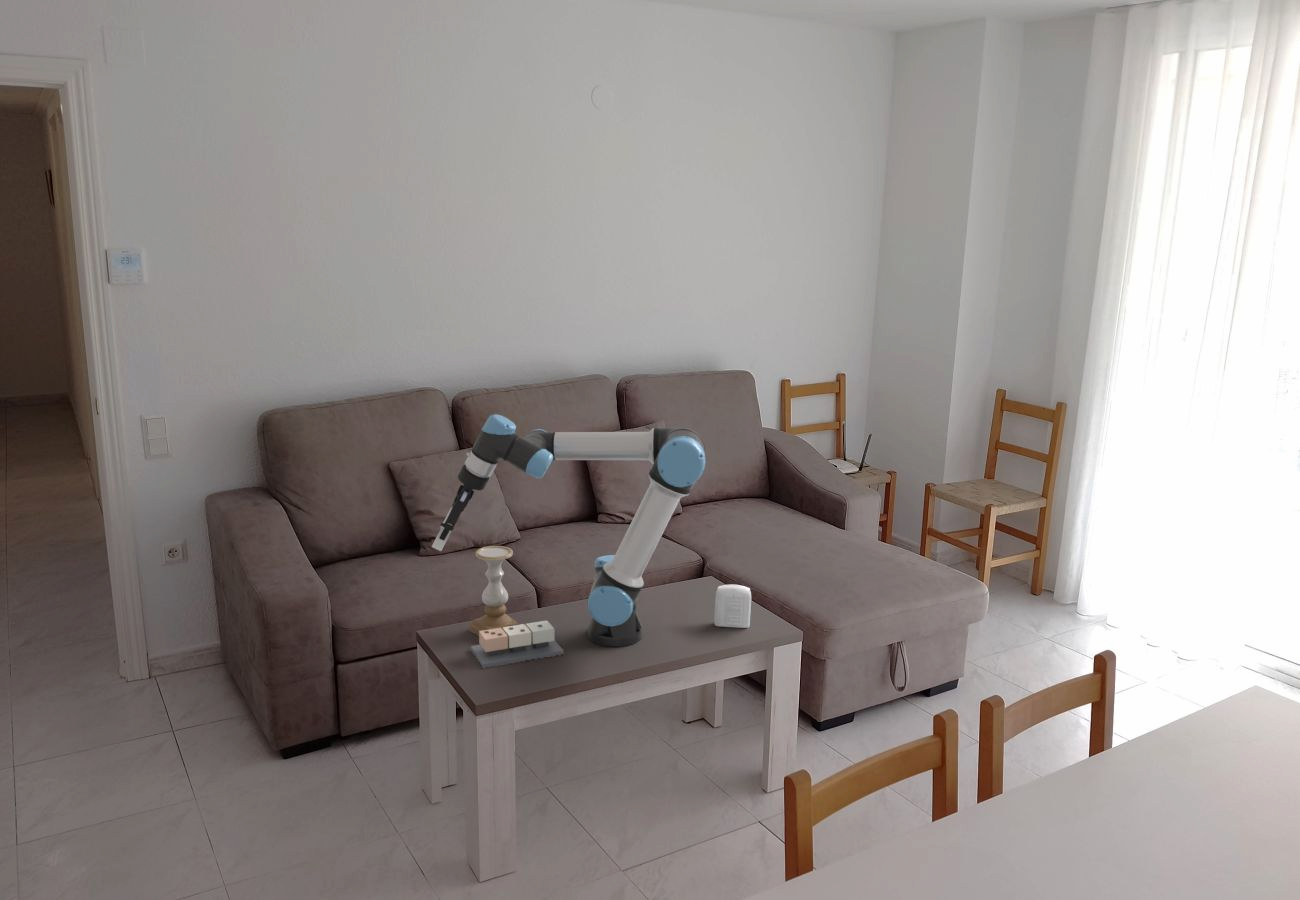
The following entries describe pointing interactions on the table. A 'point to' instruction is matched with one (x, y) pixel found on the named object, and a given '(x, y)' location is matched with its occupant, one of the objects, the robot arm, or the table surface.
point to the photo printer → (732, 606)
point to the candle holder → (493, 591)
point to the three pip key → (493, 639)
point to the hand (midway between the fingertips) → (440, 539)
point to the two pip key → (518, 635)
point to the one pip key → (541, 632)
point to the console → (516, 653)
